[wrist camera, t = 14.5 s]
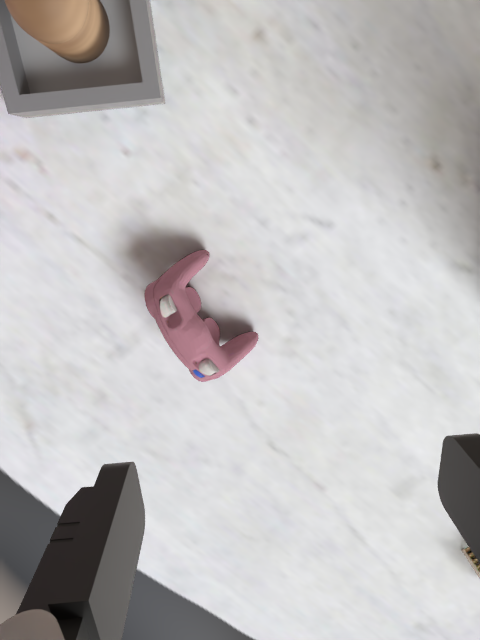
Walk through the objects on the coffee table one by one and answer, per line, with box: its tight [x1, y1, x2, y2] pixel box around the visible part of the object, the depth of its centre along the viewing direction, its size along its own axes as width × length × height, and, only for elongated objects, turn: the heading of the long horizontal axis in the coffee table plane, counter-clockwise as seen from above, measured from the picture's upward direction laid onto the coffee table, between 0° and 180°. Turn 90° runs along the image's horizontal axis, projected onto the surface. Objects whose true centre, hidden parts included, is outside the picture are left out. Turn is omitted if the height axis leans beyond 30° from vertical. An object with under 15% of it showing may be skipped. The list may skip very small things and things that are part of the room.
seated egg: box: [4, 0, 110, 63], centre depth 24 cm, size 4×4×7 cm
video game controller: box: [145, 250, 258, 382], centre depth 33 cm, size 10×5×7 cm, turn 29°
